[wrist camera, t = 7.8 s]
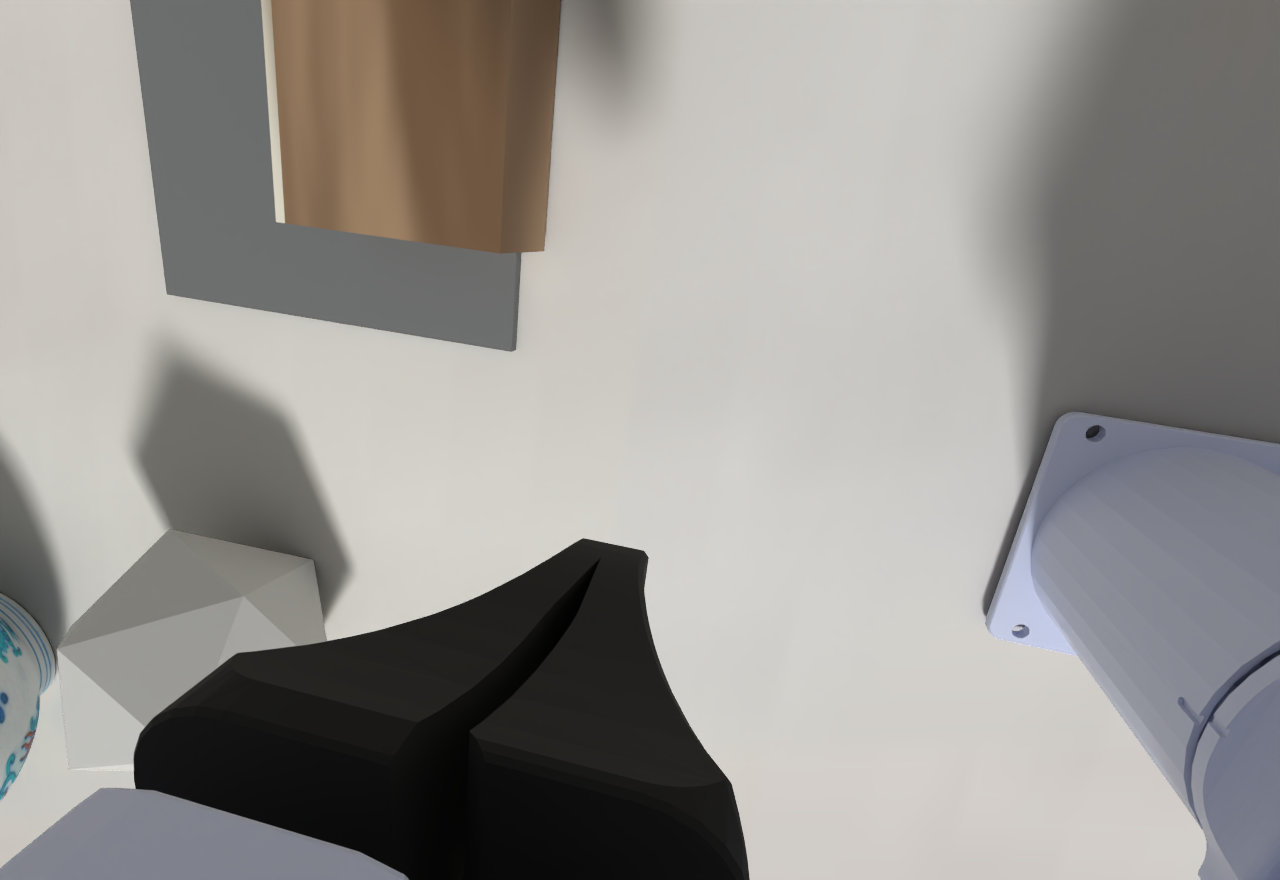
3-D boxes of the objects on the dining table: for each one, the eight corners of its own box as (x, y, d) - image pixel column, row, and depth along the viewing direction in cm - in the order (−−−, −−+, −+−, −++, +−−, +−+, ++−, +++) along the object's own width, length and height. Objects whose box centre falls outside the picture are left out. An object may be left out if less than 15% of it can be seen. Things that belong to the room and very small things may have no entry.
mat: (548, -234, 17) (543, -244, 17) (515, 349, 22) (511, 351, 22) (112, -239, 19) (98, -249, 19) (176, 293, 24) (167, 294, 24)
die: (211, 467, 28) (-53, 651, 22) (292, 514, 22) (-37, 775, 17) (327, 590, 32) (132, 765, 27) (419, 655, 27) (195, 893, 21)
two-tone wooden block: (518, -154, 14) (250, -163, 15) (500, 253, 17) (275, 221, 18) (566, -82, 18) (341, -94, 19) (544, 251, 21) (351, 224, 22)
